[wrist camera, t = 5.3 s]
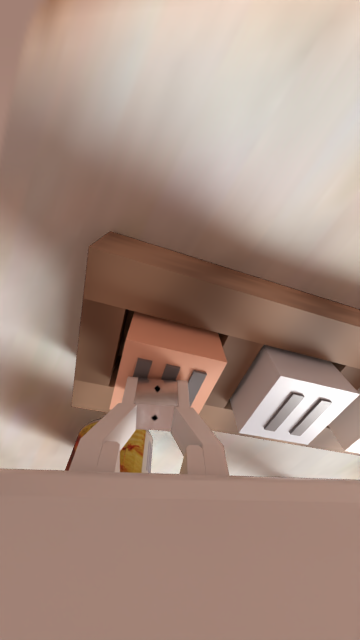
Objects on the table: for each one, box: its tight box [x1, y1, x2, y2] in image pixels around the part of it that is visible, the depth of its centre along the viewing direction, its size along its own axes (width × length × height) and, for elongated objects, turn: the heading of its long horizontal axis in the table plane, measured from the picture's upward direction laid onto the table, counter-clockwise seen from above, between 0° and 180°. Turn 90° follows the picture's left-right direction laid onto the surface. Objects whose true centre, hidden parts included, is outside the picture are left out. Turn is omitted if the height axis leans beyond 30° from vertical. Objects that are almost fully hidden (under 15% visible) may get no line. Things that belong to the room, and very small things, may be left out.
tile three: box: [109, 311, 227, 415], centre depth 13 cm, size 5×5×3 cm
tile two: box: [230, 345, 360, 445], centre depth 14 cm, size 5×5×3 cm
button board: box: [71, 231, 360, 456], centre depth 17 cm, size 26×11×4 cm, turn 72°
